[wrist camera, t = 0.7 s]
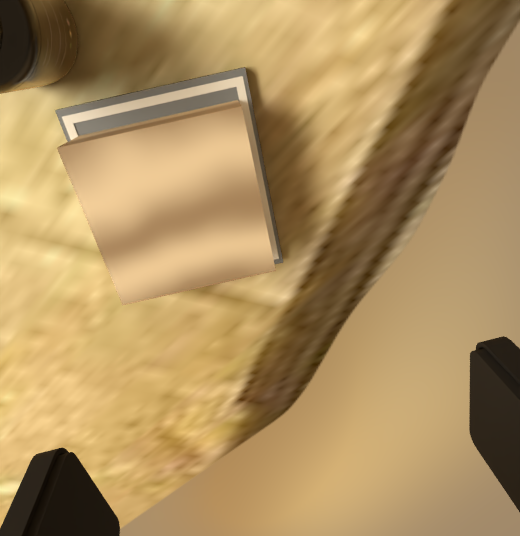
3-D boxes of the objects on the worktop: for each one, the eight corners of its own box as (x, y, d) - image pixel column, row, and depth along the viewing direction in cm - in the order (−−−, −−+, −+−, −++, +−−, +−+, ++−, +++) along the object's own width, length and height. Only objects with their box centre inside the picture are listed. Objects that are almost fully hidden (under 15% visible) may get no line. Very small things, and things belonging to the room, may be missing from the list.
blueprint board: (59, 108, 31) (54, 110, 30) (244, 67, 31) (245, 67, 30) (132, 291, 38) (130, 297, 37) (281, 257, 38) (283, 262, 37)
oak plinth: (79, 135, 31) (56, 148, 26) (237, 99, 31) (241, 106, 26) (133, 275, 36) (122, 305, 32) (268, 244, 36) (275, 270, 32)
